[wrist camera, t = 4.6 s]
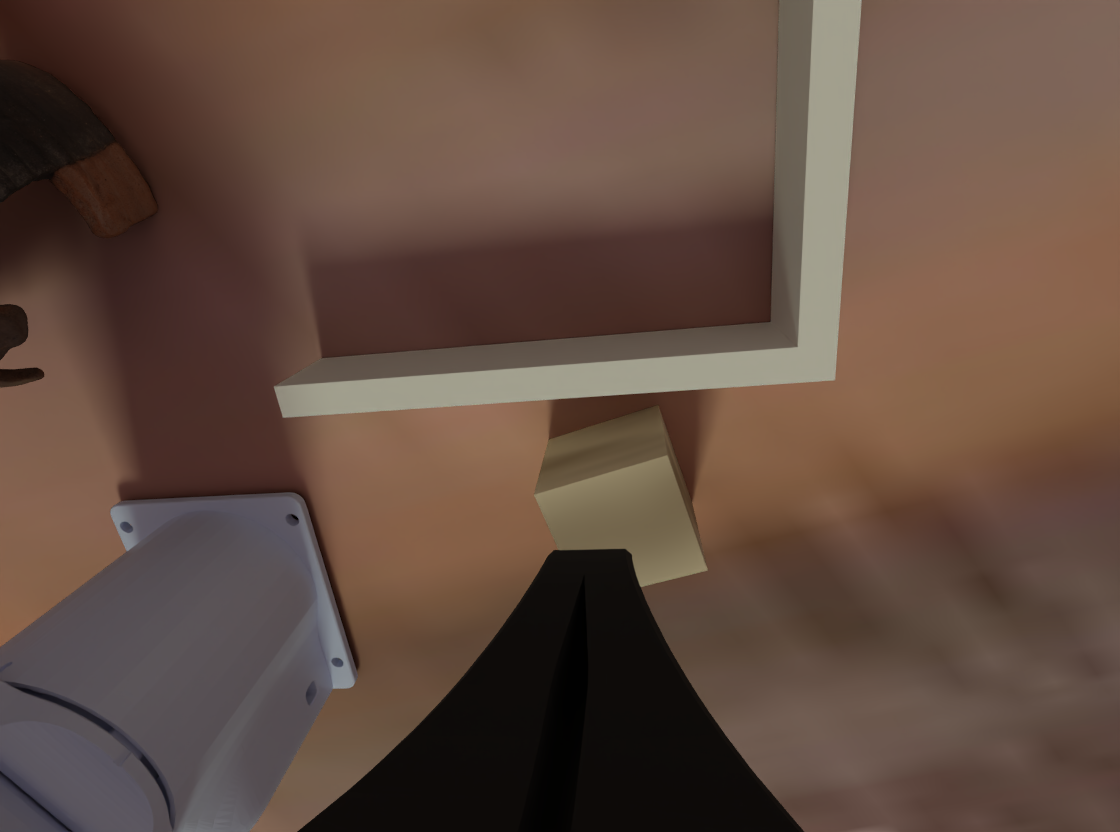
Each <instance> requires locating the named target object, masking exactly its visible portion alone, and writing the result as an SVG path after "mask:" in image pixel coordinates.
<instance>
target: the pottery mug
mask: <svg viewBox="0 0 1120 832" xmlns="http://www.w3.org/2000/svg"><path fill="white" fill-rule="evenodd" d="M42 179H49V180H50V181H51V182H52V183H53V184H54V185H55V186H56V188H57V189H59V190H60V191H61V192H62V193H63V194H65V195H66V196H67V198H68V199H69V201H70V202H71V204H72V205H73V206H74V207H75V208H76V209H77V211H78V212H79V214H80V215H81V216H82V217H83V218H84V220H85V221H86V223H87V224H88V226H89V227H90V229H91V231H92V232H93V233H94V234H95V235H96V236H98V237H101V238H113V237H116V236H118V235H120V234H122V233H124V232H125V231H127V230H128V228H129V227H130V226H132V225H133V224H135V223H138V222H140V221H143V220H144V219H146V218H148V217H149V216H152V215H154V214H155V213H157V211H158V207H157V203H156V201H155V199H154V198H153V196H152V193H151V190H150V188H149V186H148V184H147V183H146V181H145V180H144V178H143V177H142V175H141V174H140V172H139V170H138V168H137V167H136V165H135V164H134V163H133V161H132V160H131V159H130V158H129V157H128V156H127V154H126V153H125V151H124V150H123V148H122V147H121V146H120V145H119V144H118V143H117V142H116V141H115V139H114V137H113V135H112V134H111V133H110V131H109V130H108V129H107V128H106V127H105V126H104V125H103V124H102V122H101V121H100V120H99V119H98V118H97V117H96V116H95V115H94V114H93V112H92V111H91V109H90V107H89V106H88V105H87V104H86V103H84V102H83V101H82V100H80V99H79V98H78V97H77V96H75V95H74V94H73V93H72V92H71V91H70V90H69V88H68V87H67V86H65V85H64V84H63V83H61V82H60V81H58V80H57V79H56V78H55V77H53V76H52V75H50V74H48V73H47V72H45V71H42V70H39V69H37V68H35V67H33V66H31V65H28V64H25V63H22V62H18V61H15V60H0V202H3V201H4V200H6V199H7V198H8V197H9V196H10V195H11V194H13V193H14V192H16V191H17V190H19V189H21V188H23V187H24V186H26V185H28V184H30V183H31V182H32V181H39V180H42ZM27 324H28V322H27V316H26V314H25V312H24V310H23V309H22V308H21V307H19V306H17V305H11V304H6V305H0V360H1V359H2V358H3V357H4V355H5V354H6V353H7V352H8V350H9V349H10V348H13V347H16V346H19V345H21V344H22V343H24V342H25V341H26V339H27V337H28V325H27ZM43 377H44V372H43V371H42V370H41V369H39V368H25V369H0V387H10V386H18V385H22V384H26V383H29V382H33V381H36V380H39V379H42V378H43Z"/></svg>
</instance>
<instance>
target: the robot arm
mask: <svg viewBox="0 0 1120 832" xmlns="http://www.w3.org/2000/svg"><path fill="white" fill-rule="evenodd" d="M110 513H111V517H112V519H113V521H114V524H115V526H116V528H117V530H118V533H119V535H120V537H121V539H122V542H123V544H124V546H125V548H126V551H127V552H126V553H124V554H123V555H122V556H120V557H119V558H118V559H116V560H115V561H114V562H112V563H111V564H110V565H108V566H107V567H106V568H105V569H103V570H102V571H101V572H99V573H98V574H97V575H95V576H94V577H93V578H91V579H90V580H89V581H87V582H86V583H85V584H83V585H82V586H81V587H79V588H78V589H77V590H75V591H74V592H73V593H71V594H70V595H69V596H67V597H66V598H65V599H63V600H62V601H61V602H59V603H58V604H57V605H55V606H54V607H53V608H51V609H50V610H49V611H48V612H46V613H45V614H44V615H42V616H41V617H40V618H38V619H37V620H36V621H34V622H33V623H32V624H30V625H29V626H28V627H26V628H25V629H24V630H22V631H21V632H20V633H18V634H17V635H16V636H14V637H13V638H12V639H10V640H9V641H8V642H6V643H5V644H4V645H2V646H1V647H0V832H249V831H250V830H251V829H252V828H253V826H254V825H255V824H256V822H257V821H258V819H259V818H260V816H261V815H262V813H263V812H264V810H265V808H266V807H267V805H268V803H269V801H270V800H271V798H272V796H273V794H274V792H275V791H276V789H277V787H278V785H279V784H280V782H281V780H282V778H283V776H284V775H285V773H286V771H287V769H288V767H289V766H290V764H291V762H292V760H293V759H294V757H295V755H296V753H297V751H298V750H299V748H300V746H301V744H302V743H303V741H304V739H305V737H306V735H307V734H308V732H309V730H310V728H311V727H312V725H313V723H314V721H315V719H316V718H317V716H318V714H319V712H320V711H321V709H322V707H323V705H324V703H325V702H326V700H327V698H328V696H329V695H330V693H331V691H332V689H333V688H351V687H352V686H353V685H354V683H355V681H356V680H357V678H358V674H357V671H356V667H355V664H354V661H353V658H352V654H351V651H350V648H349V644H348V641H347V638H346V635H345V631H344V628H343V625H342V621H341V618H340V615H339V612H338V608H337V605H336V602H335V598H334V595H333V592H332V588H331V585H330V582H329V579H328V575H327V572H326V569H325V565H324V562H323V559H322V556H321V552H320V549H319V546H318V542H317V539H316V536H315V532H314V529H313V526H312V523H311V519H310V516H309V513H308V509H307V506H306V503H305V501H304V499H303V498H302V497H301V496H300V495H298V494H296V493H291V492H285V493H266V494H246V495H226V496H206V497H186V498H167V499H147V500H127V501H121V502H119V503H117V504H116V505H114V506H113V507H112V508H111V511H110ZM291 514H294V515H295V516H297V518H298V519H299V520H296V519H294V518H293V517H292V516H291ZM129 523H130V524H131V525H132V526H131V525H130V524H129ZM338 658H340V659H341V660H340V659H338ZM298 832H804V831H803V830H802V829H801V827H800V826H799V825H798V824H797V823H796V822H795V820H794V819H793V818H792V817H791V816H790V815H789V813H788V812H787V811H786V810H785V809H784V807H783V806H782V805H781V804H780V803H779V802H778V800H777V799H776V798H775V797H774V796H773V794H772V793H771V792H770V791H769V790H768V789H767V787H766V786H765V785H764V784H763V783H762V781H761V780H760V779H759V778H758V777H757V776H756V774H755V773H754V772H753V771H752V769H751V768H750V767H749V766H748V764H747V763H746V762H745V760H744V759H743V758H742V756H741V755H740V754H739V752H738V751H737V750H736V748H735V747H734V746H733V744H732V743H731V742H730V741H729V739H728V738H727V737H726V735H725V734H724V732H723V731H722V730H721V728H720V727H719V725H718V724H717V722H716V721H715V720H714V718H713V717H712V715H711V714H710V713H709V711H708V710H707V708H706V707H705V705H704V704H703V702H702V701H701V699H700V698H699V696H698V695H697V693H696V692H695V690H694V688H693V687H692V685H691V684H690V682H689V680H688V679H687V677H686V675H685V674H684V672H683V670H682V669H681V667H680V665H679V664H678V662H677V660H676V659H675V657H674V655H673V653H672V652H671V650H670V648H669V646H668V644H667V643H666V641H665V639H664V637H663V635H662V633H661V631H660V629H659V627H658V625H657V623H656V621H655V619H654V617H653V615H652V613H651V611H650V609H649V606H648V604H647V602H646V600H645V597H644V595H643V592H642V590H641V587H640V585H639V582H638V579H637V576H636V572H635V569H634V565H633V560H632V554H631V553H630V552H628V551H627V550H626V549H589V550H554V551H553V552H552V553H551V554H550V555H548V557H547V558H546V560H545V562H544V564H543V566H542V567H541V569H540V571H539V572H538V574H537V576H536V577H535V579H534V580H533V582H532V584H531V585H530V587H529V588H528V590H527V591H526V593H525V594H524V596H523V598H522V599H521V601H520V602H519V604H518V605H517V606H516V608H515V609H514V611H513V612H512V613H511V615H510V616H509V618H508V619H507V620H506V622H505V623H504V625H503V626H502V628H501V629H500V630H499V632H498V633H497V634H496V636H495V637H494V638H493V640H492V641H491V642H490V644H489V645H488V646H487V647H486V648H485V650H484V651H483V652H482V653H481V655H480V656H479V657H478V658H477V660H476V661H475V662H474V663H473V665H472V666H471V667H470V668H469V670H468V671H467V672H466V673H465V675H464V676H463V677H462V678H461V679H460V680H459V682H458V683H457V684H456V685H455V686H454V687H453V688H452V690H451V691H450V692H449V693H448V694H447V695H446V696H445V697H444V698H443V700H442V701H441V702H440V703H439V704H438V705H437V706H436V707H435V708H434V709H433V710H432V711H431V712H430V713H429V714H428V716H427V717H426V718H425V719H424V720H423V721H422V722H421V723H420V724H419V725H418V726H417V727H416V728H415V729H414V730H413V731H412V732H411V733H410V734H409V735H408V736H407V737H406V738H405V739H404V740H402V741H401V742H400V743H399V744H398V745H397V746H396V747H395V748H394V749H393V750H392V751H391V752H390V753H389V754H388V755H387V756H386V757H385V758H384V759H383V760H382V761H380V762H379V763H378V764H377V765H376V766H375V767H374V768H373V769H372V770H371V771H370V772H368V773H367V774H366V775H365V776H364V777H363V778H362V779H361V780H359V781H358V782H357V783H356V784H355V785H354V786H353V787H351V788H350V789H349V790H348V791H347V792H346V793H344V794H343V795H342V796H341V797H339V798H338V799H337V800H336V801H334V802H333V803H332V804H331V805H330V806H328V807H327V808H326V809H325V810H323V811H322V812H321V813H320V814H319V815H317V816H316V817H315V818H314V819H312V820H311V821H310V822H309V823H307V824H306V825H305V826H304V827H303V828H301V829H300V830H299V831H298Z"/></svg>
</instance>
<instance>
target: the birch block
mask: <svg viewBox="0 0 1120 832" xmlns="http://www.w3.org/2000/svg"><path fill="white" fill-rule="evenodd" d="M534 496H535V498H536V500H537V503H538V505H539V507H540V509H541V512H542V514H543V516H544V518H545V520H546V523H547V525H548V527H549V529H550V532H551V534H552V536H553V538H554V541H555V543H556V545H557V547H558V550H589V549H626V550H627V551H628V552H630V553H631V554H632V560H633V565H634V569H635V572H636V576H637V579H638V582H639V585H640V587H643V586H647V585H651V584H655V583H659V582H663V581H667V580H671V579H675V578H679V577H683V576H687V575H691V574H695V573H699V572H703V571H707V570H708V569H707V565H706V561H705V556H704V552H703V548H702V543H701V539H700V535H699V530H698V526H697V522H696V517H695V513H694V509H693V504H692V501H691V498H690V495H689V492H688V489H687V487H686V484H685V481H684V478H683V475H682V472H681V469H680V466H679V463H678V460H677V458H676V455H675V452H674V449H673V446H672V443H671V440H670V437H669V434H668V431H667V428H666V426H665V423H664V420H663V417H662V414H661V411H660V408H659V405H656V406H653V407H650V408H647V409H643V410H640V411H637V412H634V413H631V414H628V415H624V416H621V417H618V418H615V419H612V420H609V421H606V422H602V423H599V424H596V425H593V426H590V427H587V428H583V429H580V430H577V431H574V432H571V433H568V434H564V435H561V436H558V437H555V438H552V439H549V441H548V444H547V448H546V452H545V456H544V459H543V463H542V467H541V471H540V474H539V478H538V482H537V485H536V489H535V493H534Z"/></svg>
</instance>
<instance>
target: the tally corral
mask: <svg viewBox="0 0 1120 832" xmlns="http://www.w3.org/2000/svg"><path fill="white" fill-rule="evenodd" d="M861 1H862V0H779V28H778V65H777V103H776V140H775V177H774V215H773V252H772V289H771V322H763V323H751V324H739V325H726V326H714V327H702V328H689V329H677V330H665V331H652V332H640V333H627V334H615V335H603V336H590V337H578V338H566V339H553V340H541V341H529V342H516V343H504V344H492V345H479V346H467V347H455V348H442V349H430V350H417V351H405V352H393V353H380V354H368V355H356V356H343V357H331V358H321V359H319V360H318V361H316V362H314V363H312V364H311V365H309V366H307V367H306V368H304V369H302V370H301V371H299V372H297V373H296V374H294V375H292V376H291V377H289V378H287V379H286V380H284V381H282V382H281V383H279V384H277V385H276V386H274V389H275V393H276V396H277V399H278V403H279V406H280V409H281V412H282V416H283V418H286V417H301V416H315V415H330V414H345V413H359V412H374V411H389V410H404V409H418V408H433V407H448V406H462V405H477V404H492V403H507V402H521V401H536V400H551V399H566V398H580V397H595V396H610V395H624V394H639V393H654V392H669V391H683V390H698V389H713V388H727V387H742V386H757V385H772V384H786V383H801V382H816V381H830V380H835V372H836V357H837V343H838V329H839V315H840V300H841V286H842V272H843V258H844V243H845V229H846V215H847V201H848V186H849V172H850V158H851V144H852V129H853V115H854V101H855V87H856V72H857V58H858V44H859V30H860V16H861Z"/></svg>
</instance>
